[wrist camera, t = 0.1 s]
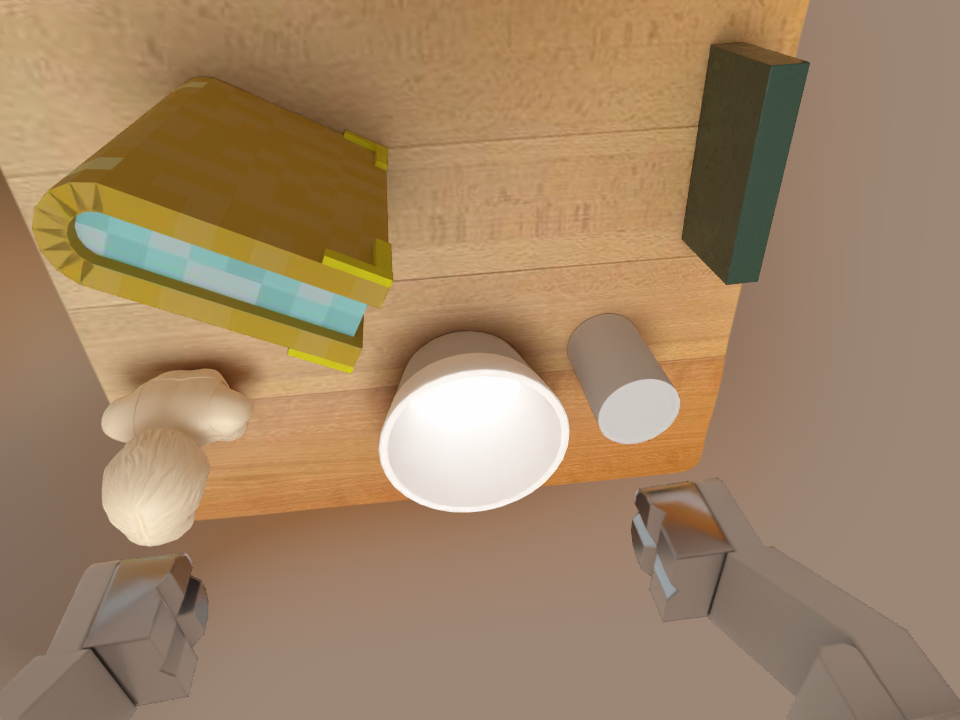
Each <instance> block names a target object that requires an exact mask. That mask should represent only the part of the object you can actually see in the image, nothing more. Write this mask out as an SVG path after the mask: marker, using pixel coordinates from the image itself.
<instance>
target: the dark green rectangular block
mask: <svg viewBox="0 0 960 720" xmlns="http://www.w3.org/2000/svg"><path fill="white" fill-rule="evenodd" d="M809 65H810V63H809V62H806V61H803V60H800V59H797V58H794V57H790V56H787V55H784V54H781V53H778V52H774V51H771V50H768V49H765V48H761V47H758V46H755V45H752V44H748V43H745V42H739V43H727V44H714V45H711V49H710V55H709V62H708V68H707V75H706V82H705V88H704V95H703V102H702V108H701V115H700V121H699V128H698V135H697V141H696V148H695V155H694V161H693V168H692V174H691V181H690V188H689V194H688V201H687V208H686V214H685V221H684V227H683V234H682V240H683V241H684V242H685V243H686V244H687V245H688V246H689V247H690V248H691V249H692V250H693V251H694V252H695V253H696V255H697V256H698V257H699V258H700V259H701V260H702V261H703V262H704V263H705V264H706V265H707V266H708V267H709V268H710V269H711V270H712V271H713V272H714V273H715V274H716V275H717V276H718V277H719V278H720V279H721V280H722V281H723V282H724V283H725V284H726V285H730V284H739V283H748V282H757V281H758V278H759V274H760V270H761V266H762V261H763V257H764V253H765V249H766V245H767V240H768V236H769V232H770V228H771V224H772V219H773V216H774V211H775V207H776V203H777V199H778V195H779V190H780V186H781V182H782V178H783V174H784V169H785V165H786V161H787V157H788V152H789V148H790V144H791V140H792V136H793V132H794V128H795V123H796V119H797V115H798V110H799V106H800V102H801V98H802V94H803V90H804V85H805V82H806V77H807V73H808V68H809Z"/></svg>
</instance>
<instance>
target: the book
mask: <svg viewBox="0 0 960 720" xmlns="http://www.w3.org/2000/svg"><path fill="white" fill-rule="evenodd" d="M387 167H388V148H386V147H384V146H382V145H379V144H377V143H375V142H373V141H370V140H368V139H366V138H364V137H361V136H359V135H357V134H354V133H352V132H350V131H348V130H345V132H344V135H343V134H341V133H338V132H336V131H334V130H332V129H329V128H327V127H325V126H323V125H320V124H318V123H316V122H313V121H311V120H309V119H307V118H304V117H302V116H300V115H298V114H295V113H293V112H291V111H288V110H286V109H284V108H282V107H279V106H277V105H275V104H273V103H270V102H268V101H266V100H263V99H261V98H259V97H257V96H254V95H252V94H250V93H248V92H245V91H243V90H241V89H238V88H236V87H234V86H232V85H229V84H227V83H225V82H223V81H220V80H218V79H216V78H213V77H196V78H193V79H191V80H189V81H186V82H184V83H183V84H182V85H181V86H179V87H178V88H177V89H175V90H174V91H173V92H172V93H170V94H169V95H168V96H167V97H165V98H164V99H163V100H162V101H160V102H159V103H158V104H157V105H155V106H154V107H153V108H152V109H150V110H149V111H148V112H146V113H145V114H144V115H143V116H141V117H140V118H139V119H138V120H136V121H135V122H134V123H133V124H131V125H130V126H129V127H128V128H126V129H125V130H124V131H123V132H121V133H120V134H119V135H117V136H116V137H115V138H114V139H112V140H111V141H110V142H109V143H107V144H106V145H105V146H104V147H102V148H101V149H100V150H99V151H97V152H96V153H95V154H94V155H92V156H91V157H90V158H88V159H87V160H86V161H85V162H83V163H82V164H81V165H80V166H78V167H77V168H76V169H75V170H73V171H72V172H71V173H70V174H68V175H67V176H66V177H65V178H63V179H62V180H61V181H59V182H58V183H57V184H56V185H54V186H53V187H52V188H51V189H49V190H48V191H47V192H46V194H45V195H44V196H43V197H42V199H41V200H40V201H39V202H38V204H37V205H36V206H35V207H34V216H33V224H32V230H33V233H34V235H35V238H36V241H37V243H38V246H39V249H40V251H41V252H42V253H43V255H44V256H45V257H46V258H47V259H48V260H49V262H50V263H51V264H52V265H53V266H54V267H55V269H56V270H57V271H59V272H61V273H62V274H64V275H65V276H67V277H68V278H70V279H71V280H73V281H75V282H76V283H78V284H79V285H83V286H86V287H89V288H93V289H96V290H99V291H102V292H106V293H109V294H112V295H116V296H119V297H122V298H126V299H129V300H132V301H135V302H139V303H142V304H145V305H149V306H152V307H155V308H159V309H162V310H165V311H169V312H172V313H175V314H178V315H182V316H185V317H188V318H192V319H195V320H198V321H202V322H205V323H208V324H211V325H215V326H218V327H221V328H225V329H228V330H231V331H235V332H238V333H241V334H244V335H248V336H251V337H254V338H258V339H261V340H264V341H268V342H271V343H274V344H278V345H281V346H284V347H287V348H288V352H287V355H290V356H293V357H297V358H300V359H303V360H307V361H310V362H314V363H317V364H320V365H324V366H327V367H330V368H334V369H337V370H340V371H344V372H347V373H350V374H351V373H352V371H353V369H354V366H355V364H356V362H357V360H358V357H359V355H360V353H361V351H362V346H363V320H364V312H365V310H366V307H367V305H370V306H373V307H376V308H379V309H381V307H382V305H383V302H384V300H385V298H386V296H387V294H388V291H389V289H390V287H391V285H392V283H393V273H392V252H391V244H390V243H389V241H388V210H387V178H386V169H387Z"/></svg>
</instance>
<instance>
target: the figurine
mask: <svg viewBox="0 0 960 720" xmlns="http://www.w3.org/2000/svg"><path fill="white" fill-rule="evenodd" d="M252 411H253V403H252V402H251V400H250V399H249V398H247V397H246V396H245V395H243V394H241V393H239V392H237V391H234V390H231V389H230V388H229V386H228V384H227V382H226V380H225V379H224V378H223V376H222V375H221V374H220V373H219V372H218V371H217V370H214V369H198V370H174V371H169V372H165V373H163V374H160V375H159V376H157V377H155V378H153V379H151V380H149V381H148V382H146V383H144V384H142V385H141V386H139V387H138V388H137V389H136V390H135V391H134V392H133V393H131V394H129V395H127V396H124V397H121V398H119V399H117V400H115V401H114V402H112V403H111V404H110V405H109V406H108V407H107V409H106V410H105V412H104V414H103V417H102V423H101V424H102V429H103V431H104V433H105V434H106V435H108V436H109V437H111V438H113V439H115V440H118V441H121V442H126V443H127V444H126V445H125V447H123V449H122V450H121V451H119V452H118V454H117V455H116V456H115V457H114V458H113V459H112V460H111V461H110V463H109V464H108V465H107V466H106V468H105V470H104V475H103V485H102V503H103V508H104V510H105V511H106V513H107V516H108V518H109V520H110V522H111V523H112V524H113V525H114V526H115V527H116V528H117V529H119V530H120V531H121V532H123V533H124V534H125V535H126V536H127V538H128V539H129V540H130V541H131V542H134V543H136V544H138V545H147V546H154V545H162V544H164V543H168V542H170V541H172V540H177V539H178V538H180V537H181V536H182V535H183V534H184V533H185V532H186V531H188V530H189V529H190V528H191V527H192V525H193V522H194V519H195V516H196V513H195V512H194V511H195V510H196V509H197V508H198V506H199V504H200V501H201V498H202V496H203V494H204V491H205V485H206V481H207V478H208V474H209V468H210V465H209V462H208V458H207V456H206V454H205V452H204V451H203V450H202V449H201V448H200V447H201V446H205V445H208V444H211V443H214V442H216V441H232V440H236V439H238V438H240V437H241V436H242V435H243V434H244V433H245V432H246V430H247V427H248V419H249V418H250V416H251V414H252Z"/></svg>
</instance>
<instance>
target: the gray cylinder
mask: <svg viewBox="0 0 960 720" xmlns="http://www.w3.org/2000/svg"><path fill="white" fill-rule="evenodd" d="M567 352H568V357H569V360H570V362H571V364H572V366H573V369H574V371H575V373H576V375H577V378H578V380H579V382H580V384H581V387H582V389H583V391H584V393H585V396H586V398H587V400H588V402H589V405H590V407H591V409H592V411H593V414H594V416H595V418H596V421H597V423H598V425H599V427H600V430H601V431H602V433H603V434H604V435H605V436H606V437H607V438H608V439H610V440H612V441H614V442H618V443H623V444H635V443H640V442H644V441H647V440H650V439H652V438H654V437H656V436H658V435H659V434H661V433H662V432H663V431H665V430H666V429H667V428H668V427H669V426H670V425H671V424H672V423H673V421H674V420H675V418H676V416H677V414H678V411H679V408H680V399H679V395H678V393H677V391H676V390H675V388H674V386H673V385H672V383H671V382H670V380H669V379H668V377H667V376H666V374H665V373H664V371H663V369H662V368H661V366H660V365H659V363H658V362H657V360H656V359H655V357H654V355H653V354H652V352H651V351H650V349H649V348H648V346H647V345H646V343H645V341H644V340H643V338H642V337H641V335H640V334H639V332H638V331H637V329H636V327H635V326H634V324H633V323H632V322H631V321H630V320H629V319H627V318H626V317H624V316H621V315H617V314H602V315H598V316H595V317H592V318H590V319H588V320H586V321H585V322H583V323H582V324H581V325H580V326H579V327H578V328H577V329H576V330H575V331H574V332H573V334H572V336H571V337H570V340H569V343H568V349H567Z"/></svg>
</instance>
